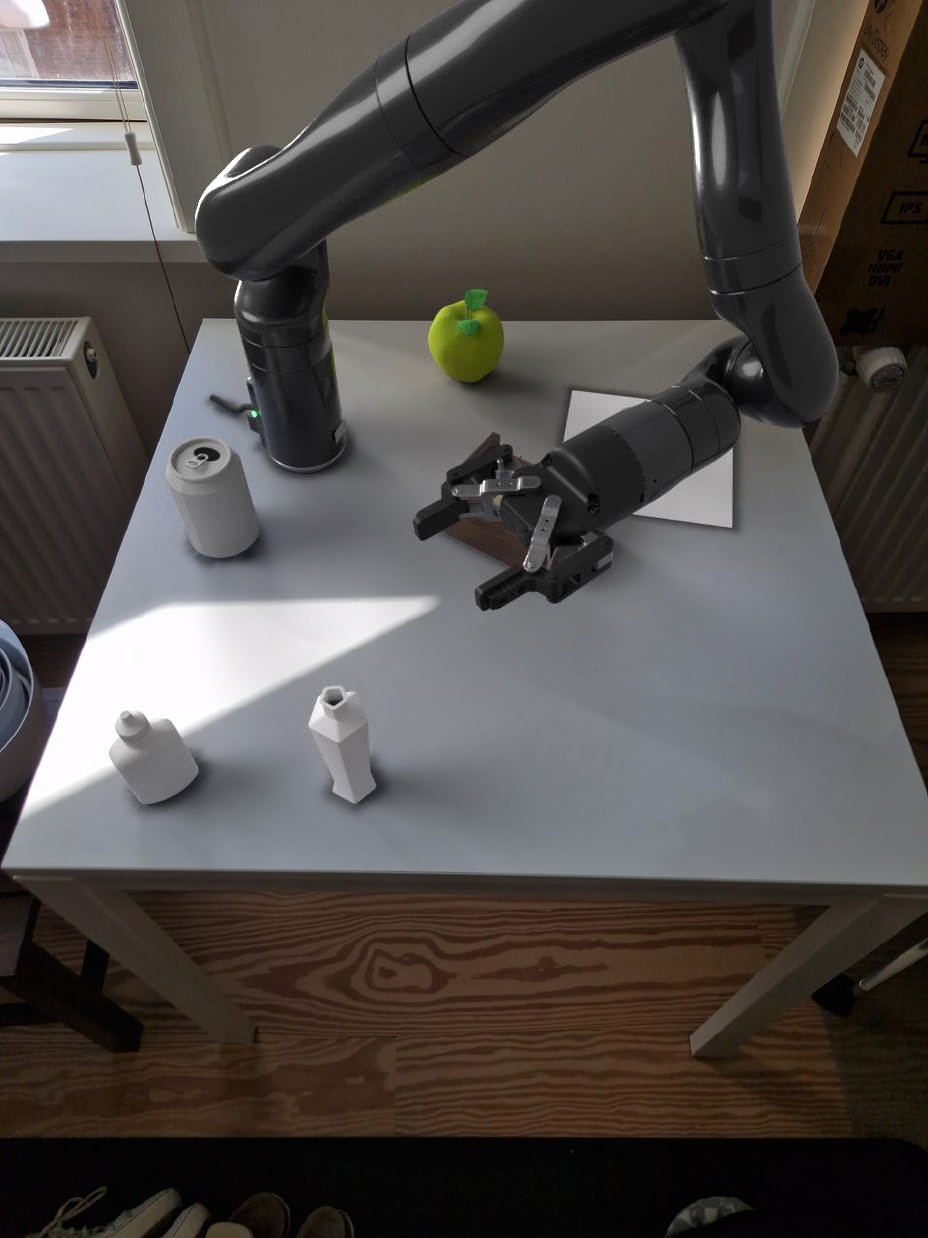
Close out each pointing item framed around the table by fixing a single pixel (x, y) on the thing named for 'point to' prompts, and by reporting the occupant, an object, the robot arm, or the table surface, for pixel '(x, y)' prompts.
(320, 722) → the white faceted vase
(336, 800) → the table surface
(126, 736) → the eye dropper bottle
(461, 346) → the fruit
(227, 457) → the can
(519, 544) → the wooden display stand
